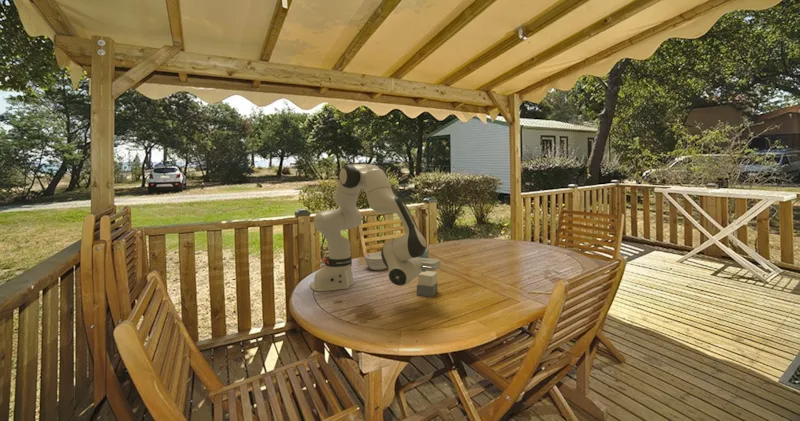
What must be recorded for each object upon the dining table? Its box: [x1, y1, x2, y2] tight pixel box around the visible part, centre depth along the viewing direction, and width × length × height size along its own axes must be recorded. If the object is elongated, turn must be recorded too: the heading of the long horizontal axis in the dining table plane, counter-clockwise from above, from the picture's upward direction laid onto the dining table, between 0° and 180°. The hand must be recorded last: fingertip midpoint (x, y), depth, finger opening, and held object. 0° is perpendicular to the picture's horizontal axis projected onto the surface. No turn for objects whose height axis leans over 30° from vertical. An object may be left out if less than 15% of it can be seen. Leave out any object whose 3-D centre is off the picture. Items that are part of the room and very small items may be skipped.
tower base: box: [416, 281, 439, 298], centre depth 174 cm, size 8×8×5 cm
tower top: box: [417, 271, 438, 287], centre depth 173 cm, size 7×7×5 cm
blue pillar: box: [419, 248, 430, 272], centre depth 164 cm, size 5×5×9 cm
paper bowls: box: [364, 252, 388, 271], centre depth 216 cm, size 15×15×8 cm
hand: (422, 258), depth 165 cm, fingers closed on blue pillar, 5 cm apart
